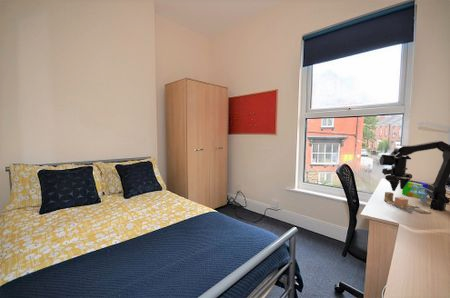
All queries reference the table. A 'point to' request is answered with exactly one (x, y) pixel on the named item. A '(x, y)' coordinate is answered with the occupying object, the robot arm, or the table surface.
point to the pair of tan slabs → (419, 209)
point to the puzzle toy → (408, 188)
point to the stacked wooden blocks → (389, 199)
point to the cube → (401, 201)
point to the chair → (419, 192)
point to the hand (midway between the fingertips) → (397, 189)
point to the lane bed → (409, 208)
